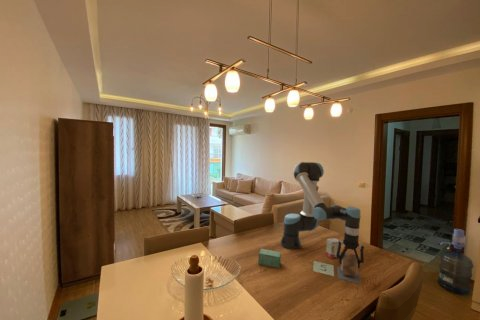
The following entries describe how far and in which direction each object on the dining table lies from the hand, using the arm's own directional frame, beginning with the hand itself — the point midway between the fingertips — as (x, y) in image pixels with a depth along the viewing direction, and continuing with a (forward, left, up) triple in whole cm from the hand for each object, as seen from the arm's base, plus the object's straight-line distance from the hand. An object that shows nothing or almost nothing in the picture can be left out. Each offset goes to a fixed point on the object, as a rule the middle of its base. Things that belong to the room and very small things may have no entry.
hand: (348, 270), depth 127 cm
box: (-46, -9, -3) cm, 47 cm away
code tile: (-14, +1, -3) cm, 14 cm away
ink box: (-8, +21, -3) cm, 23 cm away
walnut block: (0, 0, -1) cm, 1 cm away
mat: (0, 0, -3) cm, 3 cm away
